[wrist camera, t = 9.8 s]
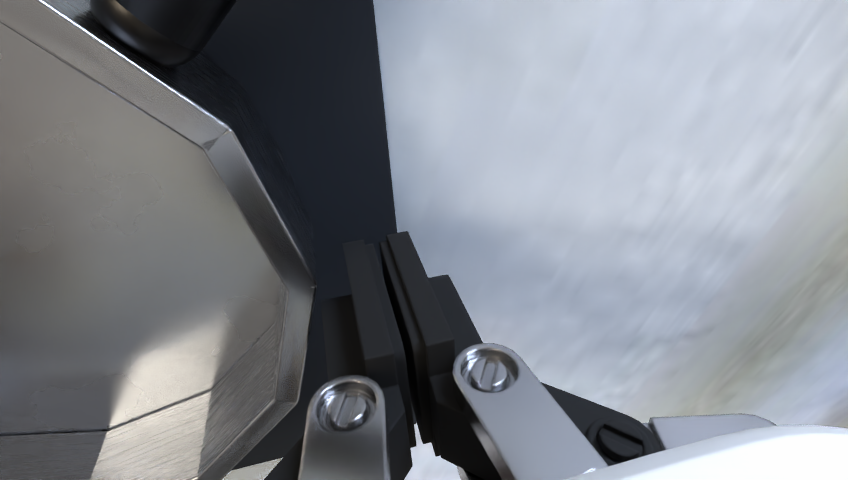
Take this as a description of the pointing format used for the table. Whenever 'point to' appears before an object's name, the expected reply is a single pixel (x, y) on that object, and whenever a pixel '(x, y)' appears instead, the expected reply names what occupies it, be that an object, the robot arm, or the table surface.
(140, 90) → the frying pan
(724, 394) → the table surface
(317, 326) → the mat
